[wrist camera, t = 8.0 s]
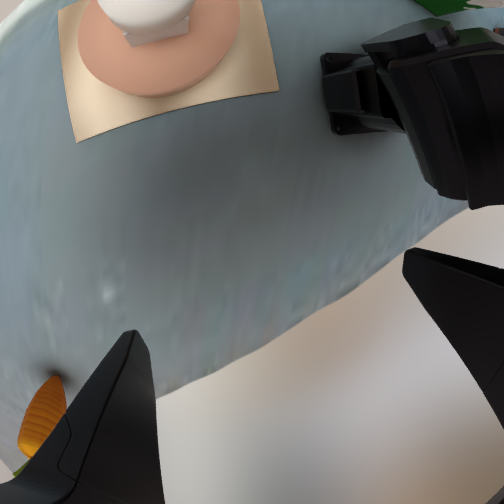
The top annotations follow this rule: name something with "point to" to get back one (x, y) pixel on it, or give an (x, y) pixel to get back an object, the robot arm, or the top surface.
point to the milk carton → (457, 5)
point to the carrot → (41, 417)
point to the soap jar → (158, 49)
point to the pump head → (145, 14)
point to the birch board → (136, 108)
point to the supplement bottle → (500, 31)
